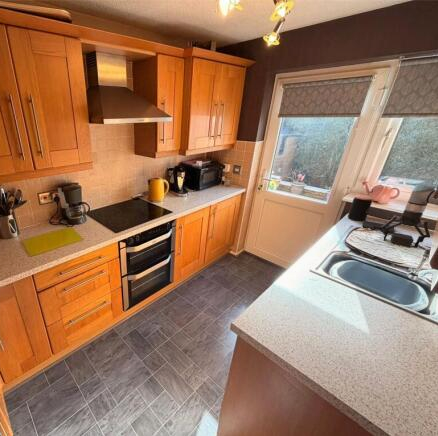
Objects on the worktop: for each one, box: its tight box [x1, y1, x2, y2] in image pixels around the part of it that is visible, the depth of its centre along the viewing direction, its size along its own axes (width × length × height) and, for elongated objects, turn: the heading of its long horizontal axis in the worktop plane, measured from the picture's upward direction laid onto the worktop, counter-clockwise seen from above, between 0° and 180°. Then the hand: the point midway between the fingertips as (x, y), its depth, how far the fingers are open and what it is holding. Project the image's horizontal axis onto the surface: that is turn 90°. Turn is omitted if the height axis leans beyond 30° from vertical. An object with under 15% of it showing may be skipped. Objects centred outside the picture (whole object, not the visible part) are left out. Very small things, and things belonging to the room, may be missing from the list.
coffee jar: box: [347, 194, 374, 222], centre depth 176 cm, size 11×11×18 cm
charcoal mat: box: [361, 220, 396, 235], centre depth 163 cm, size 14×16×2 cm
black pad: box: [390, 231, 414, 248], centre depth 142 cm, size 11×8×5 cm
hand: (399, 243), depth 142 cm, fingers open, 13 cm apart
